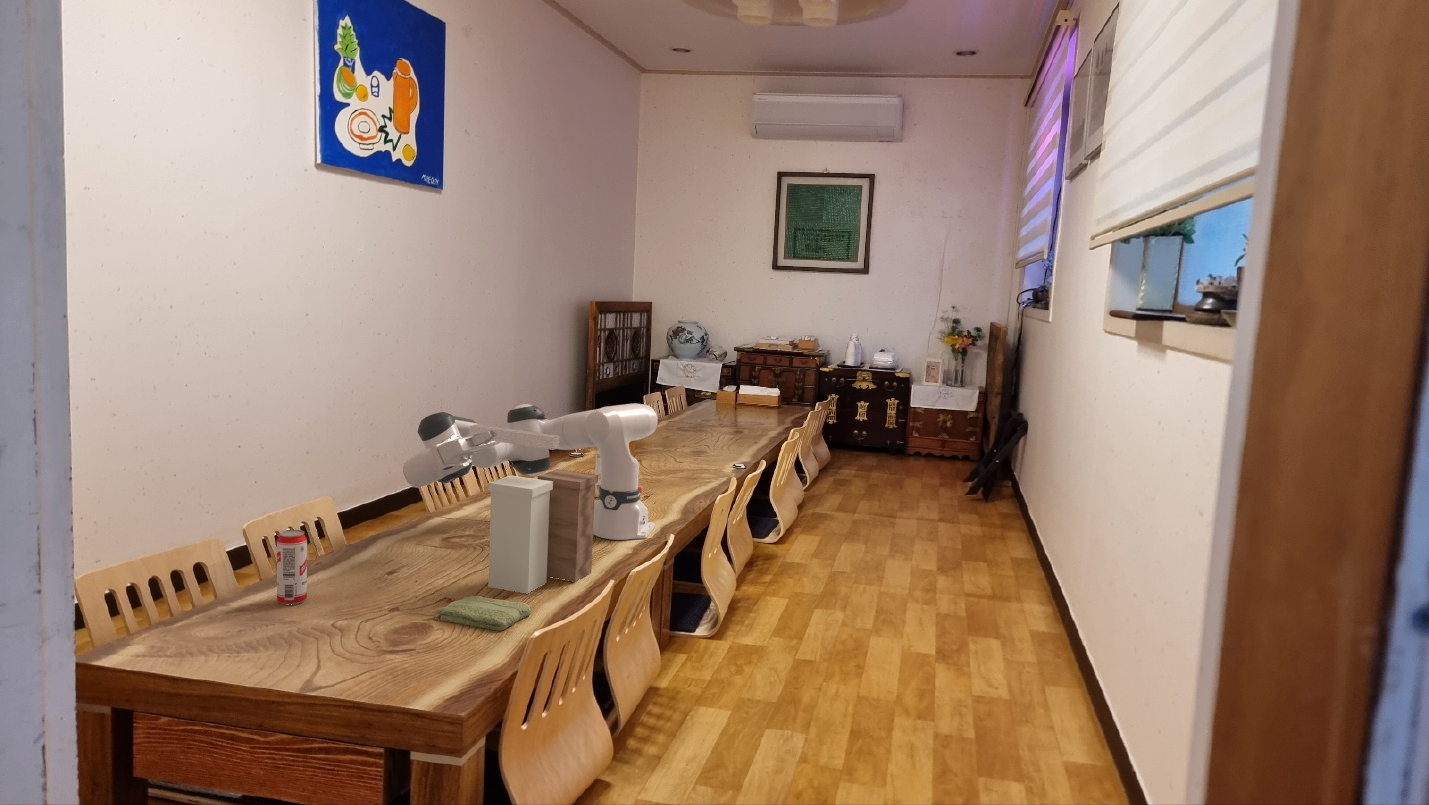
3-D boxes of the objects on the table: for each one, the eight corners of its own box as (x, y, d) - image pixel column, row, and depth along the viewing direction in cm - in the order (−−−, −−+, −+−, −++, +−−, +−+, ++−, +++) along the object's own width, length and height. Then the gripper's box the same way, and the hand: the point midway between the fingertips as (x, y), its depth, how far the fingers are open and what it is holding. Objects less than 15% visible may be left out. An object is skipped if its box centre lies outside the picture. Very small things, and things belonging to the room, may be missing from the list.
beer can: (274, 607, 212) (274, 537, 210) (279, 597, 218) (279, 529, 216) (304, 605, 214) (305, 536, 212) (308, 596, 220) (308, 528, 218)
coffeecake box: (613, 498, 329) (616, 443, 326) (592, 497, 329) (595, 441, 326) (618, 489, 344) (621, 435, 341) (599, 487, 344) (601, 434, 341)
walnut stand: (552, 565, 253) (556, 469, 249) (593, 572, 249) (598, 474, 246) (533, 575, 244) (537, 476, 240) (576, 583, 240) (580, 482, 236)
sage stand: (507, 575, 243) (510, 475, 239) (549, 583, 239) (552, 481, 235) (485, 587, 233) (488, 482, 230) (528, 595, 229) (532, 489, 226)
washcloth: (467, 603, 223) (467, 589, 223) (533, 616, 217) (534, 602, 217) (432, 621, 211) (433, 607, 210) (501, 635, 205) (502, 621, 205)
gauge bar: (476, 435, 245) (476, 424, 245) (559, 447, 237) (559, 435, 237) (469, 437, 242) (469, 425, 242) (553, 449, 234) (553, 437, 234)
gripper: (482, 457, 256) (522, 437, 251) (435, 471, 237) (478, 450, 232) (473, 436, 256) (513, 415, 251) (425, 448, 237) (468, 426, 232)
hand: (496, 432), depth 241 cm, fingers closed on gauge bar, 3 cm apart
